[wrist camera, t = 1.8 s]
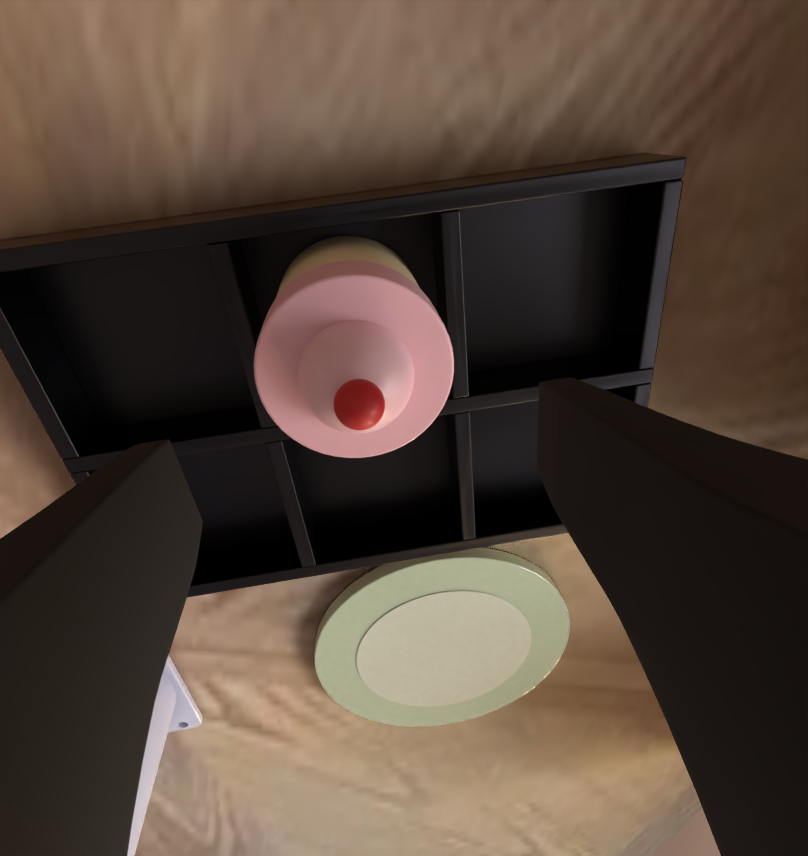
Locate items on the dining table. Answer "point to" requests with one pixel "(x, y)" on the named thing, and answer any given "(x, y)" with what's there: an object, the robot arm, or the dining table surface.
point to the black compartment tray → (245, 314)
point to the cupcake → (352, 351)
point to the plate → (441, 637)
